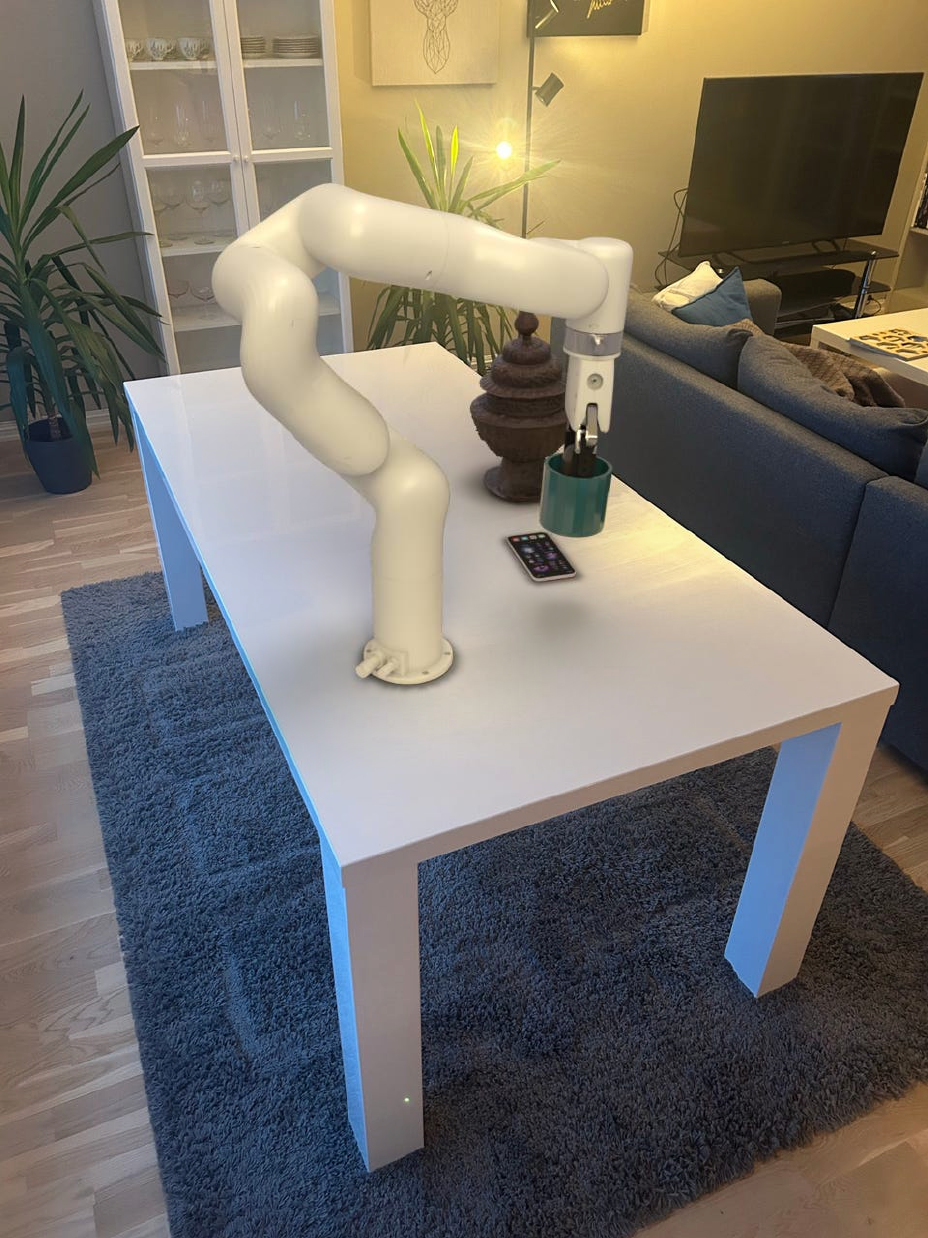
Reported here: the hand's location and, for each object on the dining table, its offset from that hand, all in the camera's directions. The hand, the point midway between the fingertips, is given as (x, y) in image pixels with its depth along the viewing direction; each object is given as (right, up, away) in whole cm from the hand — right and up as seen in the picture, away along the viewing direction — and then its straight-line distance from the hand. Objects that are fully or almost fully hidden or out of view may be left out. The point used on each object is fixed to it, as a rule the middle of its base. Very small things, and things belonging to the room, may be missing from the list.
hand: (577, 467), depth 133 cm
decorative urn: (-5, +4, +49) cm, 50 cm away
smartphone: (-3, -11, +27) cm, 29 cm away
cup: (0, -7, +5) cm, 9 cm away
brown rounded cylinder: (0, -7, +5) cm, 8 cm away
